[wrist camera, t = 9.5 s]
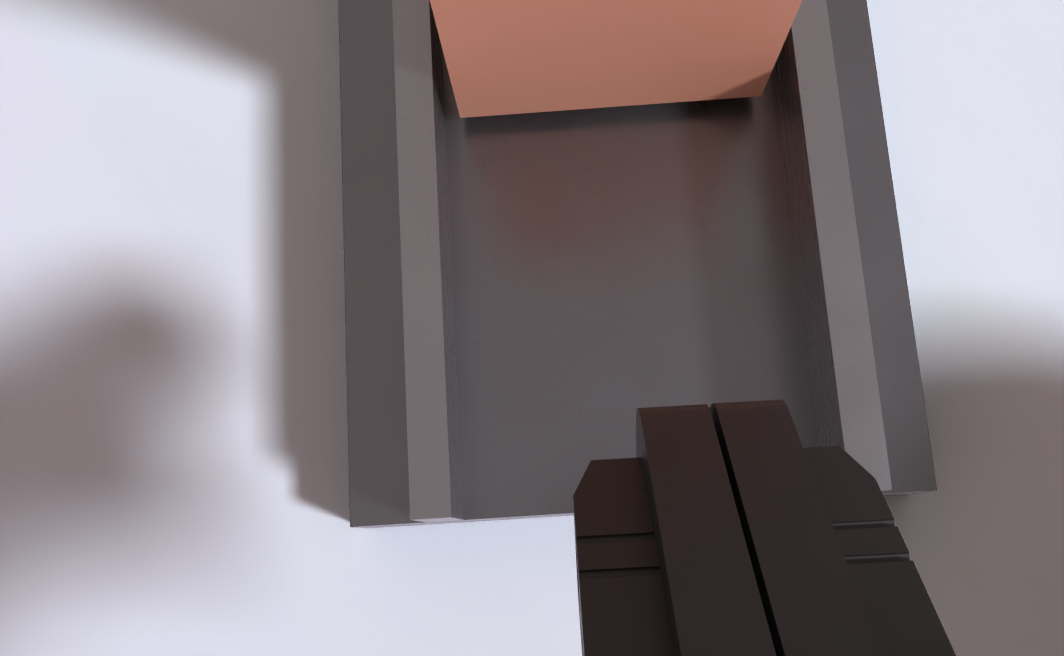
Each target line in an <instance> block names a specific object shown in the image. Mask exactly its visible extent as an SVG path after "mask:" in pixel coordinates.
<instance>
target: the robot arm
mask: <svg viewBox="0 0 1064 656" xmlns="http://www.w3.org/2000/svg"><path fill="white" fill-rule="evenodd" d="M573 505H574V524H575V543H576V563H577V582H578V601H579V615H580V630H581V643H582V656H956V655H955V653H954V651H953V648H952V646H951V644H950V642H949V640H948V637H947V635H946V633H945V631H944V629H943V626H942V624H941V622H940V620H939V618H938V615H937V613H936V611H935V609H934V607H933V604H932V602H931V600H930V598H929V596H928V593H927V591H926V589H925V587H924V584H923V582H922V580H921V578H920V576H919V573H918V571H917V569H916V567H915V565H914V562H913V561H910V559H909V551H908V549H907V547H906V545H905V543H904V540H903V538H902V536H901V534H900V532H899V529H898V527H895V526H894V518H893V516H892V514H891V512H890V509H889V507H888V505H887V503H886V501H885V498H884V496H883V494H882V492H881V490H880V487H879V485H878V483H877V481H876V479H875V478H874V477H873V476H872V475H871V474H870V473H869V472H868V471H867V470H865V469H864V468H863V467H862V466H861V465H860V464H859V463H858V462H857V461H856V460H854V459H853V458H852V457H851V456H850V455H849V454H848V453H847V452H846V451H845V450H844V449H842V448H841V447H840V446H826V447H809V448H803V446H802V444H801V441H800V438H799V436H798V433H797V430H796V428H795V425H794V422H793V420H792V417H791V414H790V412H789V409H788V407H787V405H786V403H785V402H784V401H783V400H763V401H746V402H728V403H712V404H711V405H710V408H709V406H708V405H707V404H699V405H681V406H664V407H647V408H637V411H636V458H620V459H602V460H591V461H590V463H589V465H588V467H587V469H586V471H585V473H584V475H583V477H582V479H581V481H580V483H579V485H578V487H577V489H576V491H575V493H574V495H573Z"/></svg>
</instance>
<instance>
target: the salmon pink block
mask: <svg viewBox="0 0 1064 656" xmlns="http://www.w3.org/2000/svg"><path fill="white" fill-rule="evenodd" d="M801 2H802V0H430V3H431V7H432V11H433V15H434V18H435V22H436V26H437V30H438V34H439V38H440V42H441V46H442V49H443V53H444V57H445V61H446V65H447V69H448V73H449V76H450V80H451V84H452V88H453V92H454V96H455V100H456V104H457V107H458V111H459V115H460V118H466V117H480V116H494V115H508V114H521V113H535V112H549V111H563V110H577V109H591V108H604V107H618V106H632V105H646V104H660V103H674V102H687V101H701V100H715V99H729V98H743V97H757V96H762V93H763V91H764V89H765V86H766V84H767V82H768V79H769V77H770V75H771V72H772V70H773V68H774V65H775V63H776V61H777V58H778V56H779V54H780V51H781V49H782V47H783V44H784V42H785V40H786V37H787V35H788V33H789V30H790V28H791V26H792V23H793V21H794V19H795V16H796V14H797V12H798V9H799V7H800V5H801Z"/></svg>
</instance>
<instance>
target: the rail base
mask: <svg viewBox="0 0 1064 656" xmlns="http://www.w3.org/2000/svg"><path fill="white" fill-rule="evenodd" d="M338 1H339V46H340V91H341V136H342V181H343V226H344V270H345V315H346V360H347V405H348V450H349V495H350V527H356V528H377V527H393V526H409V525H425V524H441V523H457V522H472V521H488V520H504V519H520V518H536V517H552V516H568V515H574V505H573V495H574V493H575V491H576V489H577V487H578V485H579V483H580V481H581V479H582V477H583V475H584V473H585V471H586V469H587V467H588V465H589V463H590V461H591V460H602V459H620V458H636V411H637V408H647V407H664V406H681V405H699V404H707V405H708V406H709V408H710V405H711V404H712V403H728V402H746V401H763V400H783V401H784V402H785V403H786V405H787V407H788V409H789V412H790V414H791V417H792V420H793V422H794V425H795V428H796V430H797V433H798V436H799V438H800V441H801V444H802V446H803V448H809V447H826V446H840V447H841V448H842V449H844V450H845V451H846V452H847V453H848V454H849V455H850V456H851V457H852V458H853V459H854V460H856V461H857V462H858V463H859V464H860V465H861V466H862V467H863V468H864V469H865V470H867V471H868V472H869V473H870V474H871V475H872V476H873V477H874V478H875V479H876V481H877V483H878V485H879V487H880V490H881V492H882V494H883V496H886V495H902V494H914V493H921V492H928V491H935V490H937V488H936V481H935V474H934V467H933V460H932V453H931V446H930V439H929V432H928V425H927V418H926V411H925V404H924V397H923V390H922V383H921V376H920V370H919V363H918V356H917V349H916V342H915V335H914V328H913V321H912V314H911V307H910V300H909V293H908V286H907V279H906V272H905V265H904V258H903V251H902V244H901V238H900V231H899V224H898V217H897V210H896V203H895V196H894V189H893V182H892V175H891V168H890V161H889V154H888V147H887V140H886V133H885V126H884V119H883V112H882V106H881V99H880V92H879V85H878V78H877V71H876V64H875V57H874V50H873V43H872V36H871V29H870V22H869V15H868V8H867V1H866V0H802V2H801V5H800V7H799V9H798V12H797V14H796V16H795V19H794V21H793V23H792V26H791V28H790V30H789V33H788V35H787V37H786V40H785V42H784V44H783V47H782V49H781V51H780V54H779V56H778V58H777V61H776V63H775V65H774V68H773V70H772V72H771V75H770V77H769V79H768V82H767V84H766V86H765V89H764V91H763V93H762V96H757V97H743V98H729V99H715V100H701V101H687V102H674V103H660V104H646V105H632V106H618V107H604V108H591V109H577V110H563V111H549V112H535V113H521V114H508V115H494V116H480V117H466V118H460V115H459V111H458V107H457V104H456V100H455V96H454V92H453V88H452V84H451V80H450V76H449V73H448V69H447V65H446V61H445V57H444V53H443V49H442V46H441V42H440V38H439V34H438V30H437V26H436V22H435V18H434V15H433V11H432V7H431V3H430V0H338Z"/></svg>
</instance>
